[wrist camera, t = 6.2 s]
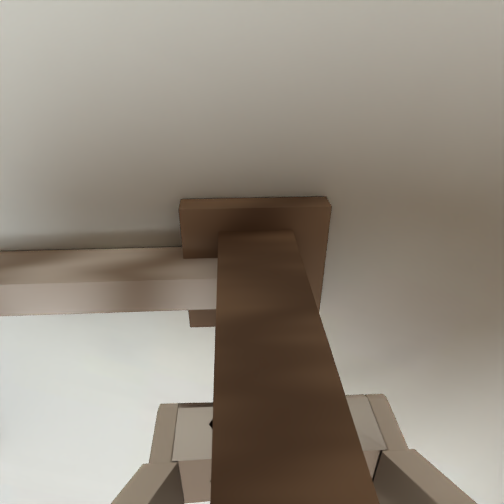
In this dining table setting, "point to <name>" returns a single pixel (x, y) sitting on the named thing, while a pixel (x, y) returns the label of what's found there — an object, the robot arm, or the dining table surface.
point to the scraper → (232, 337)
